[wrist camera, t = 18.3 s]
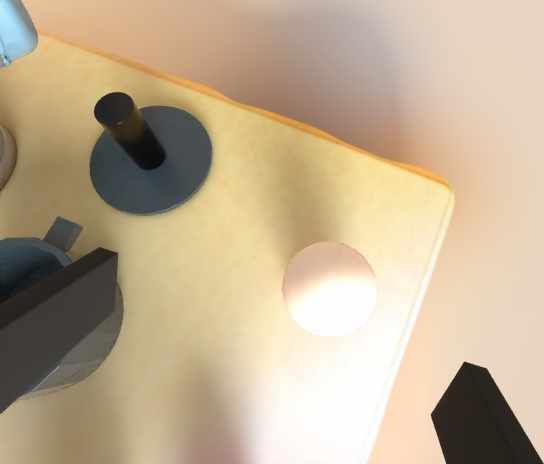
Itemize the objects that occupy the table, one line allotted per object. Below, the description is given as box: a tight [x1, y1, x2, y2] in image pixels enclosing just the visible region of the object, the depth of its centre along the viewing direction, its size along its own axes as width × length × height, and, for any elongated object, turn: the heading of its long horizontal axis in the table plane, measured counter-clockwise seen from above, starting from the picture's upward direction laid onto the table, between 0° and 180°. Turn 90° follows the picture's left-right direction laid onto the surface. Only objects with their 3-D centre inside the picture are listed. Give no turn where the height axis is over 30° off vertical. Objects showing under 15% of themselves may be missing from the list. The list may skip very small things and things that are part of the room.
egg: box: [282, 241, 377, 336], centre depth 29 cm, size 9×9×12 cm
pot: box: [0, 217, 123, 403], centre depth 32 cm, size 15×20×8 cm
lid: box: [90, 92, 212, 216], centre depth 36 cm, size 16×16×10 cm
